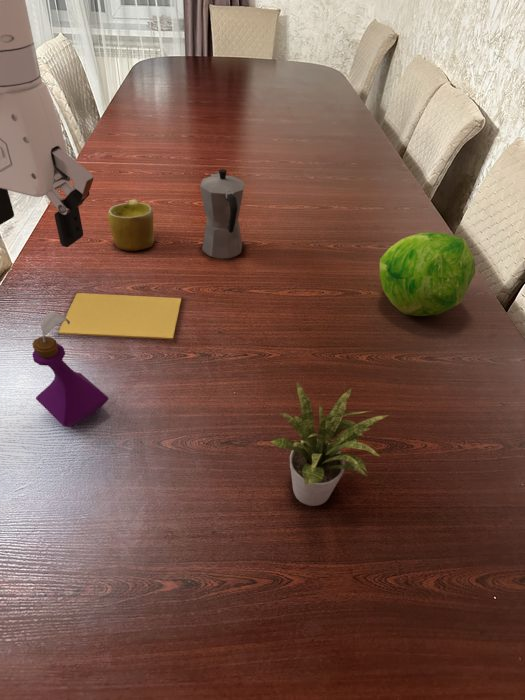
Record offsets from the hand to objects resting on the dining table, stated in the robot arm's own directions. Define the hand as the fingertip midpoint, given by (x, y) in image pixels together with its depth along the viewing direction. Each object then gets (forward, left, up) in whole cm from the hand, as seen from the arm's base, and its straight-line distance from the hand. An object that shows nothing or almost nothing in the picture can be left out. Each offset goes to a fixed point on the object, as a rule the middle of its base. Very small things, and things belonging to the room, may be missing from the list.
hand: (37, 231), depth 60 cm
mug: (-1, +51, -30) cm, 59 cm away
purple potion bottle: (0, -1, -30) cm, 30 cm away
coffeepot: (+19, +48, -30) cm, 59 cm away
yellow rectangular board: (+2, +23, -30) cm, 37 cm away
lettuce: (+58, +31, -30) cm, 72 cm away
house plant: (+35, -14, -30) cm, 48 cm away
